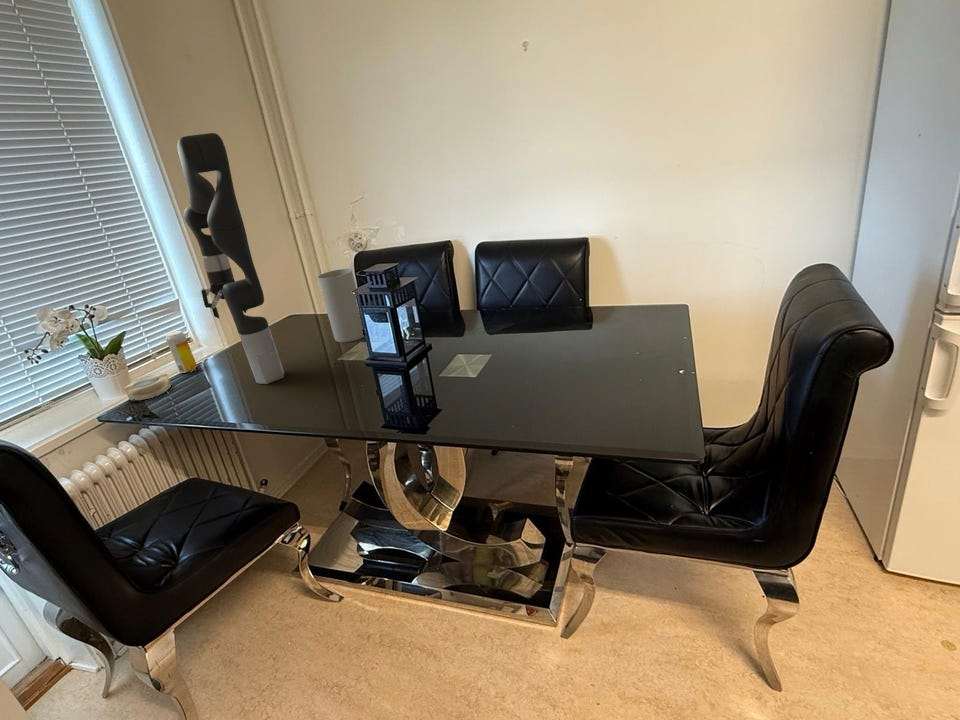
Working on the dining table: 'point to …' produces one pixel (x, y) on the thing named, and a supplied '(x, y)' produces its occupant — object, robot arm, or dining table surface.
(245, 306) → the robot arm
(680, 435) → the dining table surface
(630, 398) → the dining table surface
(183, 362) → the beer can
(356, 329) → the cylinder vase
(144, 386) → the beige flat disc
